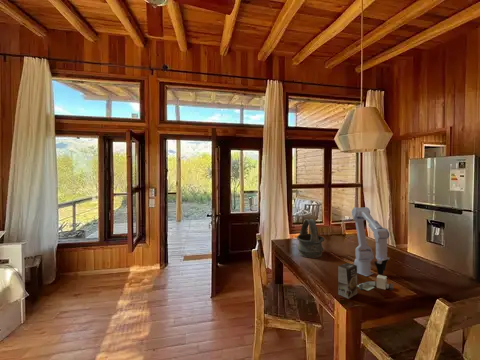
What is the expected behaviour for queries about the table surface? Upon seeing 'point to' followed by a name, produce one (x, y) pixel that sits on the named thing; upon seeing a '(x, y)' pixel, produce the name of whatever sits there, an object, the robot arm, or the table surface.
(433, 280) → the table surface
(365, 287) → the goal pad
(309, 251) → the basket with handle
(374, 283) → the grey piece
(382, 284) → the u block
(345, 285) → the coffee box
